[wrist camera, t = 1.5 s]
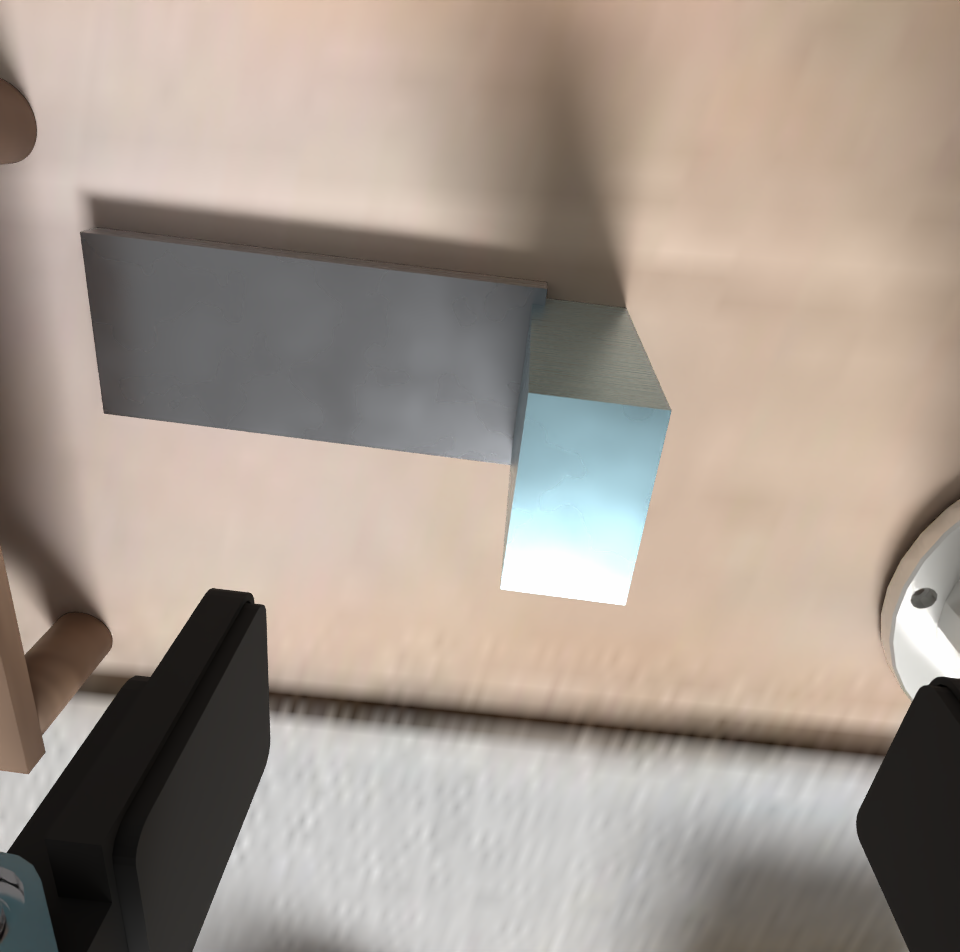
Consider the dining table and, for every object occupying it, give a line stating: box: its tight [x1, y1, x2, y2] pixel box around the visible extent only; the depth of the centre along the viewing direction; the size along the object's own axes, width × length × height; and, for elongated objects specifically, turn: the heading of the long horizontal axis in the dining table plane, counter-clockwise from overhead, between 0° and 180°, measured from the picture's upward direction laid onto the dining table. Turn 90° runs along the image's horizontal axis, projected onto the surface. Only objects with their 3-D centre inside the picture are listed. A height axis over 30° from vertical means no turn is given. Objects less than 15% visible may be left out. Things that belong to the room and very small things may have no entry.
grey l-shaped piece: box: [80, 227, 671, 605], centre depth 21 cm, size 17×6×9 cm, turn 84°
